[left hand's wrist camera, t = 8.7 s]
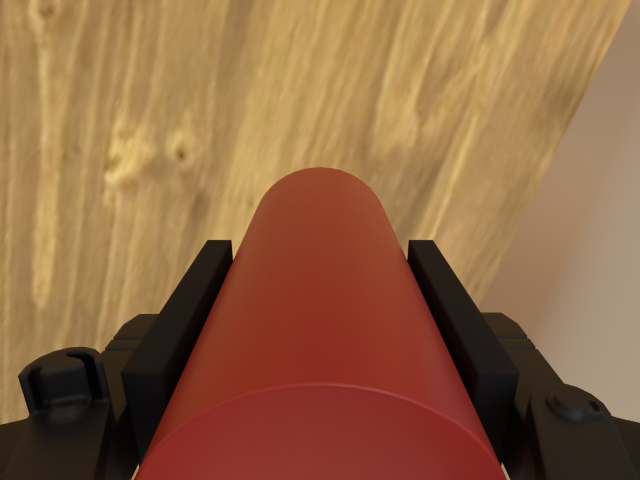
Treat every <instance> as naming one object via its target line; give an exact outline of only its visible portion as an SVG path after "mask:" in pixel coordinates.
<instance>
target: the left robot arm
mask: <svg viewBox="0 0 640 480" xmlns="http://www.w3.org/2000/svg"><path fill="white" fill-rule="evenodd" d="M232 262H233V255H232V242H231V240H207V242H206V243H205V245H204V246H203V248H202V249H201V251H200V252H199V254H198V255H197V257H196V259H195V260H194V262H193V263H192V265H191V266H190V268H189V269H188V271H187V272H186V274H185V275H184V277H183V278H182V280H181V281H180V283H179V284H178V286H177V287H176V289H175V290H174V292H173V293H172V295H171V296H170V298H169V300H168V301H167V303H166V304H165V306H164V307H163V309H162V310H161V312H160V313H159V314H139V315H137V316H136V317H134V318H133V319H131V320H130V321H128V322H127V323H125V324H124V325H123V326H122V327H121V328H120V330H119V331H118V332H117V334H116V335H115V336H114V337H113V340H111V341H110V343H109V344H108V345H107V347H106V348H105V351H103V352H102V353H101V354H100V353H99V352H98V351H97V350H95V349H92V348H87V347H71V348H66V349H62V350H58V351H54V352H51V353H49V354H47V355H44V356H42V357H40V358H38V359H36V360H35V361H33V362H32V363H30V364H29V365H27V366H26V367H25V368H24V369H23V371H22V372H21V373H20V374H19V375H18V378H19V381H20V385H21V388H22V391H23V394H24V398H25V401H26V404H27V408H28V411H29V416H28V418H27V419H23V420H20V421H16V422H11V423H6V424H2V425H0V480H131V479H132V476H133V474H134V472H135V470H136V468H137V466H138V463H139V468H140V465H141V463H142V461H143V459H144V457H145V454H146V452H147V450H148V448H149V445H150V443H151V441H152V439H153V437H154V434H155V432H156V430H157V428H158V426H159V423H160V421H161V419H162V417H163V415H164V412H165V410H166V408H167V406H168V404H169V401H170V399H171V397H172V395H173V393H174V390H175V388H176V386H177V384H178V382H179V379H180V377H181V375H182V373H183V371H184V368H185V366H186V364H187V362H188V359H189V357H190V355H191V353H192V351H193V348H194V346H195V344H196V342H197V340H198V337H199V335H200V333H201V331H202V329H203V326H204V324H205V322H206V320H207V318H208V315H209V313H210V311H211V309H212V307H213V304H214V302H215V300H216V298H217V296H218V293H219V291H220V289H221V287H222V285H223V282H224V280H225V278H226V276H227V273H228V271H229V269H230V267H231V265H232ZM407 262H408V264H409V266H410V268H411V270H412V273H413V275H414V277H415V279H416V281H417V284H418V286H419V288H420V290H421V292H422V294H423V297H424V299H425V301H426V303H427V305H428V308H429V310H430V312H431V314H432V316H433V319H434V321H435V323H436V325H437V327H438V330H439V332H440V334H441V336H442V338H443V340H444V343H445V345H446V347H447V349H448V351H449V354H450V356H451V358H452V360H453V362H454V365H455V367H456V369H457V371H458V373H459V376H460V378H461V380H462V382H463V384H464V387H465V389H466V391H467V393H468V395H469V397H470V400H471V402H472V404H473V406H474V408H475V411H476V413H477V415H478V417H479V419H480V422H481V424H482V426H483V428H484V430H485V433H486V435H487V437H488V439H489V441H490V444H491V446H492V448H493V450H494V452H495V454H496V457H497V459H498V461H499V463H500V465H501V464H502V463H503V465H504V467H505V469H506V471H507V473H508V476H509V478H510V480H640V423H638V422H633V421H629V420H624V419H620V418H617V417H613V416H611V413H610V412H609V411H608V409H607V408H606V407H605V405H604V404H603V403H602V402H601V401H599V400H598V399H597V398H596V397H594V396H593V395H592V394H590V393H588V392H586V391H584V390H582V389H580V388H578V387H575V386H571V385H568V384H564V383H563V382H562V380H561V379H560V378H559V377H558V375H557V374H556V373H555V371H554V370H553V369H552V367H551V366H550V365H549V364H548V362H547V361H546V360H545V358H544V357H543V356H542V355H541V353H540V352H539V351H538V350H537V349H535V346H534V344H533V343H532V342H531V340H530V339H527V335H526V334H525V333H524V331H523V330H522V329H521V327H520V326H519V325H518V324H517V323H516V322H514V321H513V320H511V319H510V318H508V317H507V316H505V315H504V314H502V313H480V311H479V310H478V308H477V307H476V305H475V304H474V302H473V301H472V299H471V298H470V296H469V294H468V293H467V291H466V290H465V288H464V287H463V285H462V284H461V282H460V281H459V279H458V278H457V276H456V275H455V273H454V272H453V270H452V269H451V267H450V266H449V264H448V263H447V261H446V260H445V258H444V257H443V255H442V253H441V252H440V250H439V249H438V247H437V246H436V244H435V243H434V241H433V240H409V246H408V258H407Z"/></svg>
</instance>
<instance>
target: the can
mask: <svg viewBox="0 0 640 480" xmlns="http://www.w3.org/2000/svg"><path fill="white" fill-rule="evenodd" d="M134 480H507V479H506V477H505V475H504V472H503V470H502V468H501V465H500V463H499V461H498V459H497V457H496V454H495V452H494V450H493V448H492V446H491V444H490V441H489V439H488V437H487V435H486V433H485V430H484V428H483V426H482V424H481V422H480V419H479V417H478V415H477V413H476V411H475V408H474V406H473V404H472V402H471V400H470V397H469V395H468V393H467V391H466V389H465V387H464V384H463V382H462V380H461V378H460V376H459V373H458V371H457V369H456V367H455V365H454V362H453V360H452V358H451V356H450V354H449V351H448V349H447V347H446V345H445V343H444V340H443V338H442V336H441V334H440V332H439V330H438V327H437V325H436V323H435V321H434V319H433V316H432V314H431V312H430V310H429V308H428V305H427V303H426V301H425V299H424V297H423V294H422V292H421V290H420V288H419V286H418V284H417V281H416V279H415V277H414V275H413V273H412V270H411V268H410V266H409V264H408V262H407V259H406V257H405V255H404V253H403V251H402V248H401V246H400V244H399V242H398V240H397V237H396V235H395V233H394V231H393V229H392V227H391V224H390V222H389V220H388V218H387V216H386V213H385V211H384V209H383V207H382V205H381V202H380V201H379V199H378V198H377V196H376V195H375V193H374V192H373V191H372V190H371V189H370V188H369V187H368V186H367V185H366V184H365V183H364V182H362V181H361V180H360V179H358V178H357V177H355V176H353V175H351V174H349V173H347V172H344V171H341V170H337V169H332V168H323V167H318V168H308V169H303V170H300V171H296V172H294V173H291V174H289V175H287V176H285V177H284V178H282V179H281V180H279V181H278V182H277V183H275V184H274V185H273V186H272V187H271V188H270V189H269V190H268V191H267V192H266V194H265V195H264V197H263V198H262V200H261V201H260V203H259V205H258V207H257V210H256V212H255V214H254V216H253V218H252V221H251V223H250V225H249V227H248V229H247V232H246V234H245V236H244V238H243V240H242V243H241V245H240V247H239V249H238V251H237V254H236V256H235V258H234V260H233V262H232V265H231V267H230V269H229V271H228V273H227V276H226V278H225V280H224V282H223V285H222V287H221V289H220V291H219V293H218V296H217V298H216V300H215V302H214V304H213V307H212V309H211V311H210V313H209V315H208V318H207V320H206V322H205V324H204V326H203V329H202V331H201V333H200V335H199V337H198V340H197V342H196V344H195V346H194V348H193V351H192V353H191V355H190V357H189V359H188V362H187V364H186V366H185V368H184V371H183V373H182V375H181V377H180V379H179V382H178V384H177V386H176V388H175V390H174V393H173V395H172V397H171V399H170V401H169V404H168V406H167V408H166V410H165V412H164V415H163V417H162V419H161V421H160V423H159V426H158V428H157V430H156V432H155V434H154V437H153V439H152V441H151V443H150V445H149V448H148V450H147V452H146V454H145V457H144V459H143V461H142V463H141V465H140V468H139V470H138V472H137V474H136V476H135V479H134Z"/></svg>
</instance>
